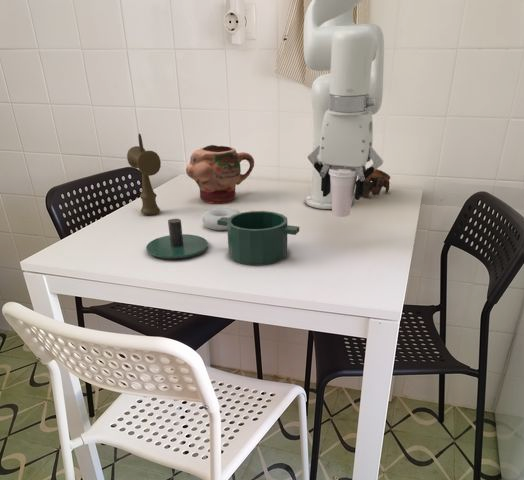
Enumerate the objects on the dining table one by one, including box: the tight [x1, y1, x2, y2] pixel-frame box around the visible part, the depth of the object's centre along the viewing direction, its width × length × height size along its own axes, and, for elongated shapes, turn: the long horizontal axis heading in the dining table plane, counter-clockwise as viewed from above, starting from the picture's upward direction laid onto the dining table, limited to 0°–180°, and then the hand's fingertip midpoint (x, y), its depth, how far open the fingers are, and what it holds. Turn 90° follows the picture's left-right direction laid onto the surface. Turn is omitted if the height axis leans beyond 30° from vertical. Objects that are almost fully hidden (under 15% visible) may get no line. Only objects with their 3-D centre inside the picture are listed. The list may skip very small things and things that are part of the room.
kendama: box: [126, 133, 162, 216], centre depth 130 cm, size 6×10×20 cm, turn 32°
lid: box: [145, 218, 209, 260], centre depth 111 cm, size 14×14×7 cm
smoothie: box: [328, 165, 358, 218], centre depth 106 cm, size 6×6×14 cm
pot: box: [217, 210, 300, 266], centre depth 108 cm, size 13×18×8 cm
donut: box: [201, 207, 241, 231], centre depth 125 cm, size 10×4×10 cm
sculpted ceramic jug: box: [185, 144, 255, 204], centre depth 142 cm, size 20×12×14 cm, turn 119°
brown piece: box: [361, 167, 391, 199], centre depth 144 cm, size 12×9×8 cm
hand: (342, 195), depth 107 cm, fingers closed on smoothie, 6 cm apart
